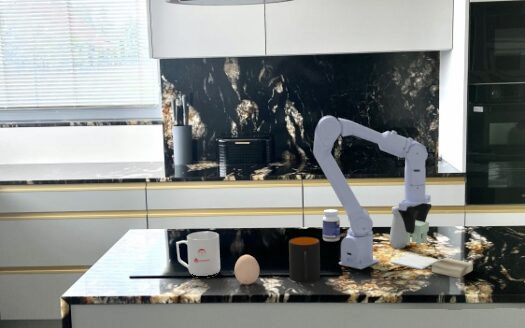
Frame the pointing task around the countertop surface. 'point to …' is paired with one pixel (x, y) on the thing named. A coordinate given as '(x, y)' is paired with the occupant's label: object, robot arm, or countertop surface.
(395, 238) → the salt shaker
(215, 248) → the mug
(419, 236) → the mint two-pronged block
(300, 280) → the mug
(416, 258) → the pad
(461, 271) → the step
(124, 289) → the countertop surface
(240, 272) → the egg
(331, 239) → the pill bottle
